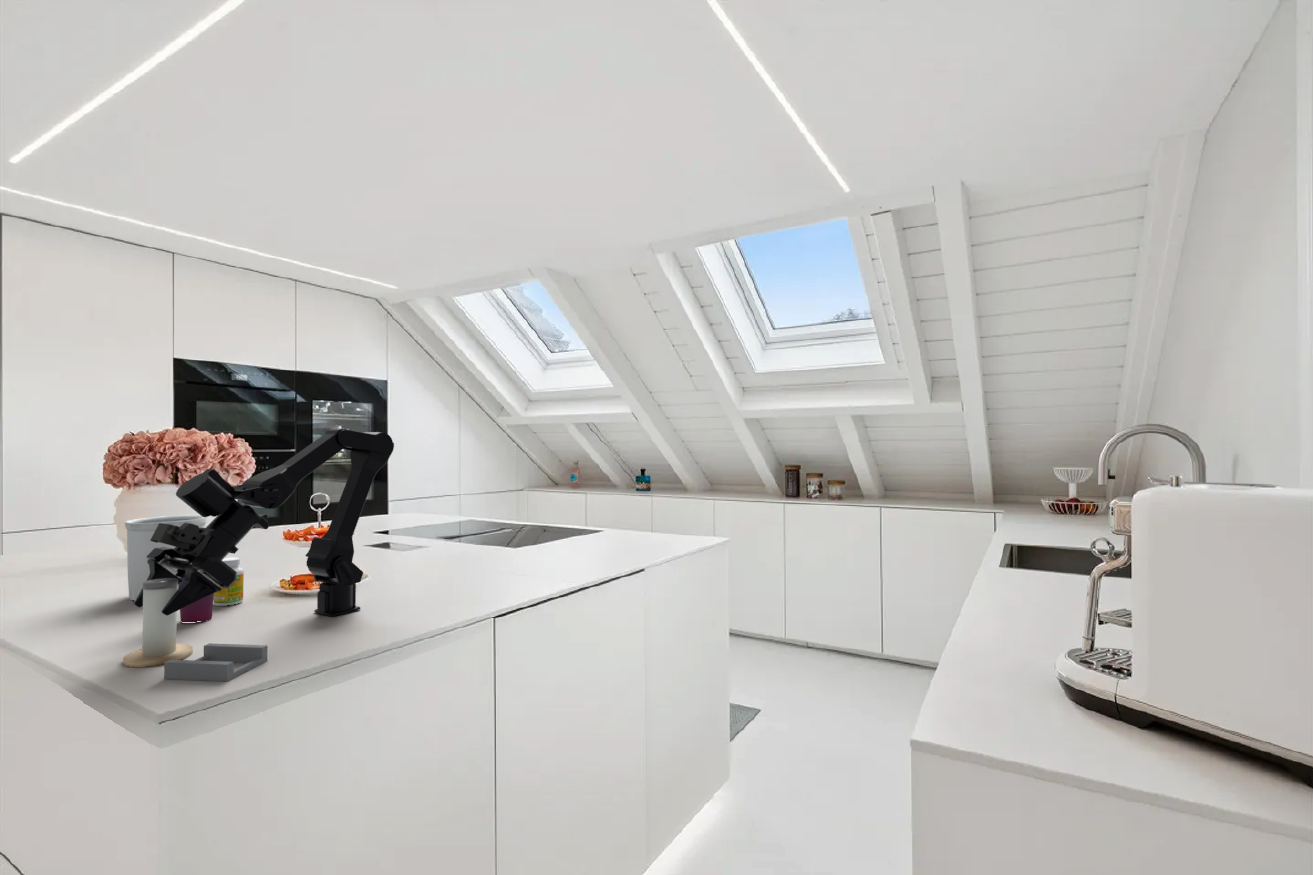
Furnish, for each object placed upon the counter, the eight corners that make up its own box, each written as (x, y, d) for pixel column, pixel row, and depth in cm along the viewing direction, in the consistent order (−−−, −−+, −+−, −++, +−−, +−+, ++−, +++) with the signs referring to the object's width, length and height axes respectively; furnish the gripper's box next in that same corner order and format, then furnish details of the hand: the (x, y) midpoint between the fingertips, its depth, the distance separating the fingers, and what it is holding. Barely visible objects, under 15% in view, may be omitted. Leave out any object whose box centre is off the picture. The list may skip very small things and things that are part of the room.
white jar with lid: (176, 645, 107) (178, 576, 107) (176, 653, 104) (177, 582, 104) (142, 651, 104) (143, 580, 104) (140, 659, 101) (141, 585, 101)
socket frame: (209, 658, 104) (209, 643, 104) (267, 660, 103) (267, 645, 103) (164, 678, 95) (164, 662, 95) (227, 681, 94) (227, 664, 94)
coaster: (176, 644, 110) (176, 640, 110) (203, 653, 106) (203, 649, 106) (112, 660, 102) (112, 655, 102) (139, 671, 98) (139, 666, 98)
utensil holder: (106, 600, 138) (107, 521, 138) (169, 585, 153) (170, 513, 153) (163, 604, 136) (164, 523, 136) (222, 588, 151) (222, 515, 151)
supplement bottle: (228, 607, 134) (228, 561, 134) (207, 605, 135) (207, 560, 135) (249, 600, 140) (249, 557, 140) (228, 599, 141) (229, 556, 141)
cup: (225, 617, 127) (226, 543, 127) (190, 626, 121) (191, 548, 121) (201, 613, 129) (202, 540, 129) (166, 622, 123) (167, 546, 123)
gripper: (160, 501, 112) (80, 575, 102) (217, 508, 103) (135, 589, 93) (209, 539, 119) (138, 611, 109) (266, 549, 110) (194, 628, 100)
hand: (149, 609), depth 103 cm, fingers open, 9 cm apart
